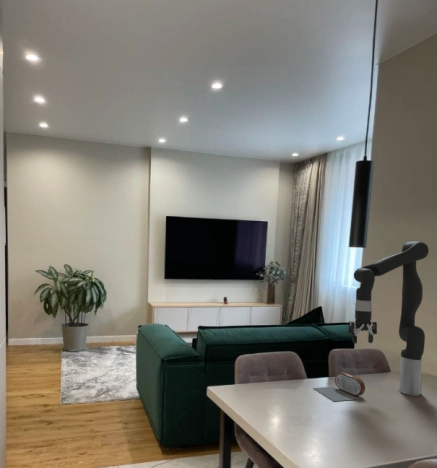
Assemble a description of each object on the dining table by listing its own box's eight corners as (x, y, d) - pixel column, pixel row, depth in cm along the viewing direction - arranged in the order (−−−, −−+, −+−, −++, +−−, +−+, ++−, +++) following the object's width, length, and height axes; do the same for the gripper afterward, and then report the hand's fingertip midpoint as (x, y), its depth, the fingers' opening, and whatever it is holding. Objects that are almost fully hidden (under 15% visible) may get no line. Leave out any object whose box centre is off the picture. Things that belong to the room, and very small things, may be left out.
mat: (333, 387, 186) (333, 386, 186) (355, 399, 171) (355, 399, 171) (313, 388, 182) (313, 388, 182) (333, 401, 167) (333, 401, 167)
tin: (364, 398, 175) (366, 379, 175) (360, 398, 173) (362, 380, 173) (337, 386, 187) (338, 369, 187) (333, 387, 185) (334, 370, 185)
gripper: (371, 308, 188) (370, 340, 187) (346, 308, 184) (345, 341, 184) (381, 310, 181) (380, 344, 180) (355, 310, 177) (354, 345, 177)
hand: (362, 343), depth 182 cm, fingers open, 8 cm apart
